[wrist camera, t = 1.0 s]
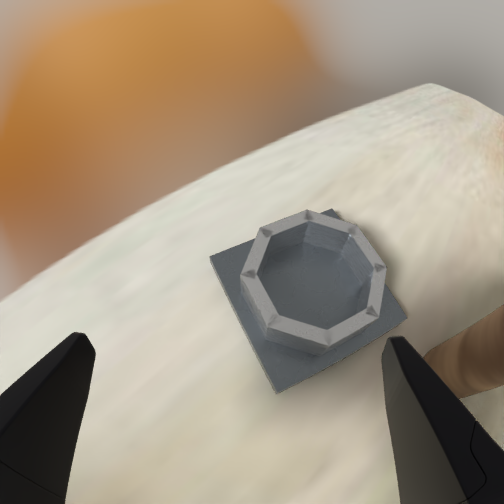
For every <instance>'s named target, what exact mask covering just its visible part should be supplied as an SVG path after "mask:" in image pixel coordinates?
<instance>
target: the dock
mask: <svg viewBox="0 0 504 504" xmlns="http://www.w3.org/2000/svg"><path fill="white" fill-rule="evenodd" d="M210 262H211V264H212V266H213V269H214V271H215V273H216V275H217V277H218V279H219V281H220V283H221V285H222V287H223V290H224V292H225V294H226V296H227V298H228V300H229V302H230V304H231V306H232V308H233V310H234V312H235V314H236V316H237V318H238V320H239V322H240V324H241V326H242V328H243V330H244V332H245V334H246V336H247V338H248V340H249V342H250V344H251V346H252V348H253V350H254V352H255V354H256V356H257V358H258V360H259V362H260V364H261V366H262V368H263V370H264V372H265V374H266V376H267V378H268V379H269V381H270V383H271V385H272V387H273V389H274V391H275V393H276V394H278V393H280V392H282V391H284V390H286V389H288V388H290V387H292V386H294V385H296V384H298V383H300V382H302V381H303V380H305V379H307V378H309V377H311V376H313V375H315V374H317V373H319V372H320V371H322V370H324V369H326V368H328V367H330V366H331V365H333V364H335V363H337V362H338V361H340V360H342V359H344V358H345V357H347V356H349V355H351V354H352V353H354V352H356V351H357V350H359V349H361V348H362V347H364V346H366V345H367V344H369V343H371V342H372V341H374V340H375V339H377V338H379V337H380V336H382V335H383V334H385V333H387V332H388V331H390V330H391V329H393V328H394V327H396V326H397V325H399V324H400V323H402V322H403V321H404V320H406V319H407V317H406V315H405V314H404V312H403V310H402V309H401V307H400V306H399V304H398V303H397V301H396V299H395V298H394V296H393V295H392V293H391V292H390V290H389V289H388V287H387V286H386V284H385V277H386V270H387V267H386V265H385V264H384V262H383V261H382V259H381V258H380V257H379V255H378V254H377V252H376V251H375V249H374V248H373V247H372V245H371V244H370V242H369V241H368V240H367V238H366V237H365V236H364V234H363V233H362V231H361V230H360V229H359V227H358V226H357V225H355V224H352V223H349V222H345V221H342V220H340V218H339V217H338V216H337V214H336V213H335V212H334V210H333V209H330V210H327V211H324V212H322V213H316V212H313V211H310V210H305V211H302V212H300V213H297V214H294V215H292V216H289V217H286V218H284V219H281V220H278V221H276V222H273V223H271V224H268V225H265V226H263V227H260V229H259V231H258V233H257V236H256V238H255V239H253V240H250V241H248V242H245V243H242V244H240V245H237V246H235V247H232V248H230V249H227V250H225V251H222V252H220V253H217V254H215V255H212V256H210Z"/></svg>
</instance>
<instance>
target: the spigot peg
mask: <svg viewBox="0 0 504 504" xmlns="http://www.w3.org/2000/svg"><path fill="white" fill-rule="evenodd" d="M424 360H425V361H426V362H427V363H428V364H429V365H430V367H431V368H432V369H433V370H434V371H435V372H436V373H437V374H438V376H439V377H440V378H441V379H442V380H443V381H444V382H445V384H446V385H447V386H448V387H449V388H450V389H451V391H452V392H453V393H454V394H455V395H456V396H457V398H458V399H460V398H463V397H467V396H470V395H474V394H477V393H480V392H484V391H487V390H490V389H493V388H496V387H499V386H502V385H504V305H502V306H501V307H499V308H498V309H496V310H495V311H493V312H492V313H490V314H489V315H487V316H486V317H484V318H483V319H481V320H480V321H478V322H477V323H475V324H474V325H472V326H470V327H469V328H467V329H466V330H464V331H462V332H461V333H459V334H457V335H456V336H454V337H452V338H451V339H449V340H447V341H445V342H444V343H442V344H440V345H438V346H437V347H435V348H433V349H432V350H430V351H429V352H428V353H427V354H426V356H425V357H424Z"/></svg>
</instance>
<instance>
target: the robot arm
mask: <svg viewBox="0 0 504 504" xmlns="http://www.w3.org/2000/svg"><path fill="white" fill-rule="evenodd" d="M95 356H96V353H95V349H94V347H93V346H92V344H91V342H90V341H89V339H88V337H87V336H86V334H84V333H79V332H74V333H72V334H70V335H69V336H68V337H67V338H66V339H64V340H63V341H62V342H61V343H60V344H58V345H57V346H56V347H55V348H54V349H53V350H51V351H50V352H49V353H48V354H47V355H45V356H44V357H43V358H42V359H41V360H40V361H38V362H37V363H36V364H35V365H34V366H33V367H32V368H30V369H29V370H28V371H27V372H26V373H25V374H23V375H22V376H21V377H20V378H19V379H18V380H17V381H16V382H14V383H13V384H12V385H11V386H10V387H9V388H8V389H7V390H5V391H4V392H3V393H2V394H1V395H0V504H65V499H66V493H67V487H68V482H69V477H70V471H71V466H72V462H73V457H74V452H75V448H76V443H77V439H78V435H79V430H80V426H81V422H82V418H83V414H84V411H85V407H86V403H87V399H88V394H89V389H90V383H91V378H92V372H93V367H94V362H95ZM382 370H383V381H384V392H385V405H386V412H387V418H388V424H389V429H390V435H391V441H392V447H393V453H394V459H395V466H396V473H397V480H398V488H399V496H400V504H504V451H503V449H502V448H501V447H500V446H499V445H498V444H497V443H496V442H495V441H494V440H493V439H492V438H491V437H490V435H489V434H488V433H487V432H486V431H485V430H484V428H483V427H482V426H481V425H480V424H479V422H478V421H475V418H474V416H473V415H472V414H471V413H470V412H469V411H468V409H467V408H466V407H465V406H464V405H463V403H462V402H461V401H460V400H459V399H458V398H457V396H456V395H455V394H454V393H453V392H452V391H451V389H450V388H449V387H448V386H447V385H446V384H445V382H444V381H443V380H442V379H441V378H440V377H439V376H438V374H437V373H436V372H435V371H434V370H433V369H432V368H431V367H430V365H429V364H428V363H427V362H426V361H425V360H424V359H423V358H422V356H421V355H420V354H419V353H418V352H417V351H416V350H415V349H414V348H413V347H412V345H411V344H410V343H409V342H408V341H407V340H406V339H405V338H404V337H403V336H392V337H389V338H388V339H387V342H386V345H385V348H384V351H383V354H382Z"/></svg>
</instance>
